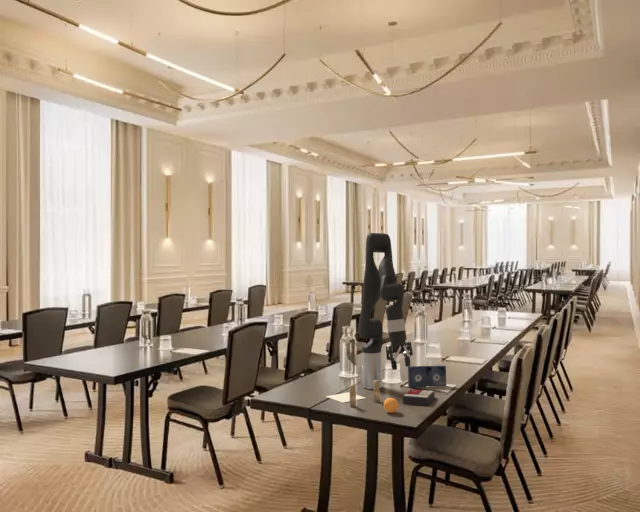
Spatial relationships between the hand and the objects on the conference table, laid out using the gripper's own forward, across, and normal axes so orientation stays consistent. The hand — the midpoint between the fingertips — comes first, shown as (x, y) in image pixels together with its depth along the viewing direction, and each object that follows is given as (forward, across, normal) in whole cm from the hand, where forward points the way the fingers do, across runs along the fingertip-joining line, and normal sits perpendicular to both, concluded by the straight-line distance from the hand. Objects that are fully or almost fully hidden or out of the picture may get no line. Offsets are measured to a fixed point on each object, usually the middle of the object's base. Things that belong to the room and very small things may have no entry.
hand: (401, 368), depth 241 cm
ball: (+13, +13, +4) cm, 19 cm away
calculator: (+16, -10, -1) cm, 19 cm away
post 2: (+14, +4, -13) cm, 19 cm away
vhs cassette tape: (+15, -34, -15) cm, 40 cm away
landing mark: (+12, +9, -27) cm, 31 cm away
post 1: (+14, +18, -14) cm, 26 cm away
